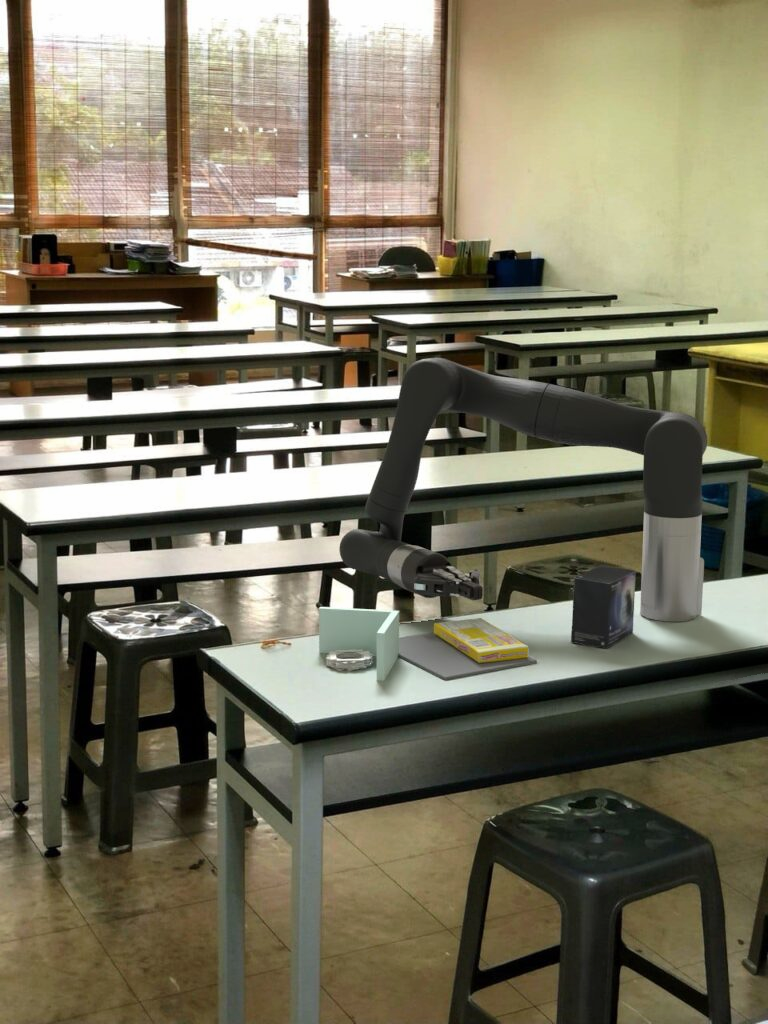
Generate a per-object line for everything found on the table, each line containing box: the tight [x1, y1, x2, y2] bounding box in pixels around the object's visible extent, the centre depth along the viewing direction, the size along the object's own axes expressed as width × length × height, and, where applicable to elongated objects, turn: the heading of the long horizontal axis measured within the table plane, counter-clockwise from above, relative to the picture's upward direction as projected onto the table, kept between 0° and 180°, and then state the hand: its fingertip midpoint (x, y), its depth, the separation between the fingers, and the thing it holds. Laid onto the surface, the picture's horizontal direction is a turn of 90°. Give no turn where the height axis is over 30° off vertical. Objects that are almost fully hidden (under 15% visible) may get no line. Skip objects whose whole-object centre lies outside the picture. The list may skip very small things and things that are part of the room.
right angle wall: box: [318, 606, 400, 682], centre depth 192 cm, size 12×12×8 cm
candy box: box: [433, 617, 529, 663], centre depth 201 cm, size 16×2×8 cm
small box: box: [570, 564, 637, 649], centre depth 206 cm, size 11×6×10 cm, turn 147°
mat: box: [398, 631, 538, 681], centre depth 199 cm, size 16×20×1 cm
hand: (478, 593), depth 205 cm, fingers closed
